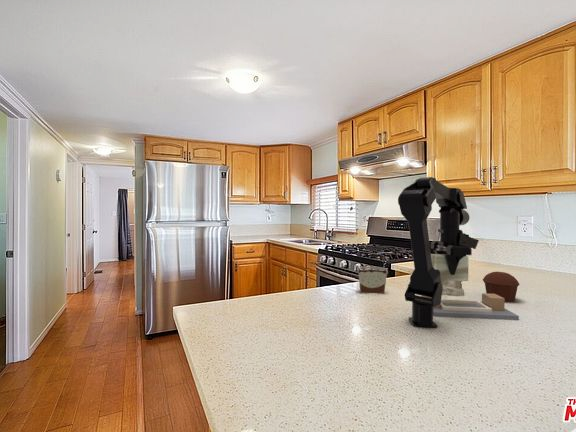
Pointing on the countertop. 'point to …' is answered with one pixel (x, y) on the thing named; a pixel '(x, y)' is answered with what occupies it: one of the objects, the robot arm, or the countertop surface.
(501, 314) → the board
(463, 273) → the sage block
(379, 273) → the food container
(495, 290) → the muffin
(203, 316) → the countertop surface
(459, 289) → the sandcastle
